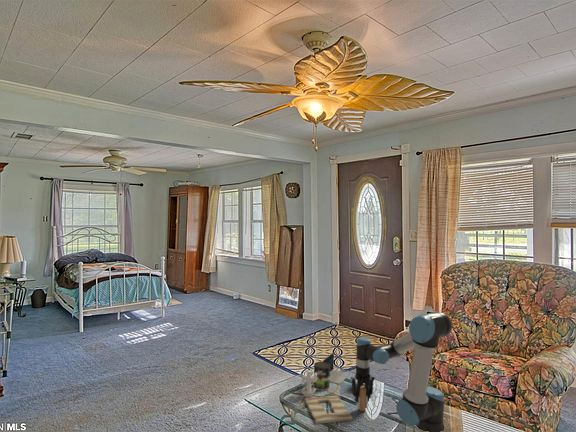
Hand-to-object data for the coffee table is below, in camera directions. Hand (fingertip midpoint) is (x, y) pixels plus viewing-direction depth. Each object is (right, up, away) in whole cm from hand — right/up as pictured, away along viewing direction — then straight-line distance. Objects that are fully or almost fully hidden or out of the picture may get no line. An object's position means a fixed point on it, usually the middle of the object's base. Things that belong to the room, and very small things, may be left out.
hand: (361, 407), depth 213 cm
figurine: (-29, -1, +15) cm, 33 cm away
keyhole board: (-19, -1, -1) cm, 19 cm away
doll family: (+6, -2, +23) cm, 24 cm away
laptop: (-9, -1, +41) cm, 42 cm away
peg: (0, -1, 0) cm, 1 cm away
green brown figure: (-20, -1, +27) cm, 33 cm away
